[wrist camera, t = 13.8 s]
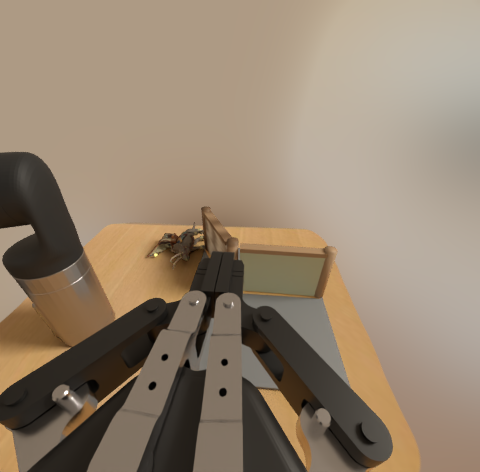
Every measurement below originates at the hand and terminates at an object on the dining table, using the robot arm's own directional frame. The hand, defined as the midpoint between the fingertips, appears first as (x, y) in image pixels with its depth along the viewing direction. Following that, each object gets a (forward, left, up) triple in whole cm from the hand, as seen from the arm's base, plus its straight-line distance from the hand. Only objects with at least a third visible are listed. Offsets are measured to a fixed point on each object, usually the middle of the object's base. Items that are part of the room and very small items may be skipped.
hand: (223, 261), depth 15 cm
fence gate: (+9, +25, -29) cm, 39 cm away
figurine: (-20, +40, -31) cm, 54 cm away
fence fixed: (-6, +33, -29) cm, 44 cm away
